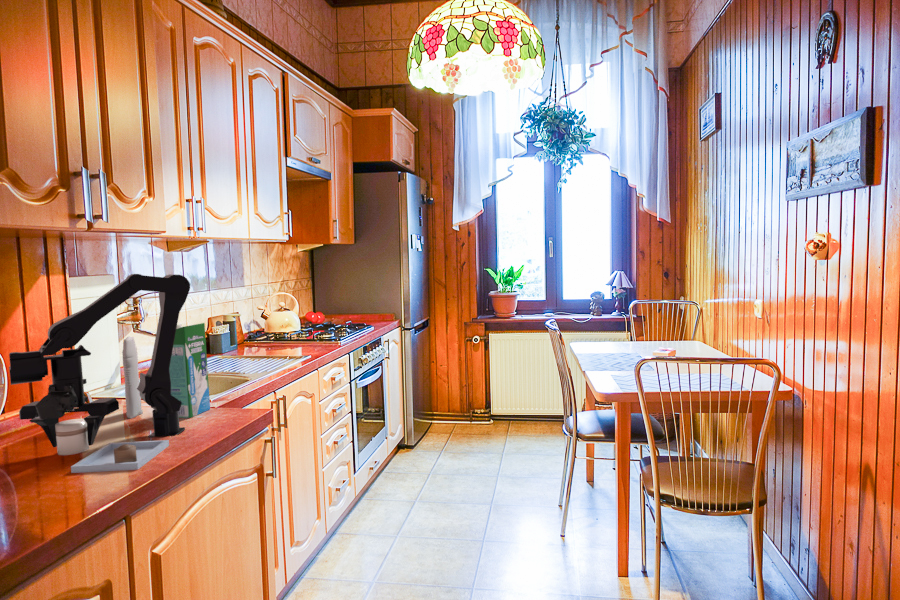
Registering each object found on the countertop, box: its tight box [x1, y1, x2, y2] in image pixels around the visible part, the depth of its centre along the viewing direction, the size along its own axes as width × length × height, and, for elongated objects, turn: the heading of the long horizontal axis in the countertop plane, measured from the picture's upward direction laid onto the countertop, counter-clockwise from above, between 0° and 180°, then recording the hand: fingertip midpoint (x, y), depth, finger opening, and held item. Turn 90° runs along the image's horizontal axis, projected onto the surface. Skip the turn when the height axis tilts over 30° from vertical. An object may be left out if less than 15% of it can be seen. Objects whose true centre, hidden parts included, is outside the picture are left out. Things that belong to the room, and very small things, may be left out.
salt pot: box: [114, 444, 137, 463], centre depth 121 cm, size 4×4×4 cm
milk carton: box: [169, 322, 211, 419], centre depth 162 cm, size 9×9×25 cm
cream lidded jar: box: [55, 418, 90, 456], centre depth 131 cm, size 6×6×7 cm
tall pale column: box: [121, 335, 144, 420], centre depth 163 cm, size 11×4×22 cm, turn 16°
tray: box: [70, 439, 170, 474], centre depth 125 cm, size 15×13×2 cm
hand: (73, 445), depth 131 cm, fingers open, 7 cm apart
